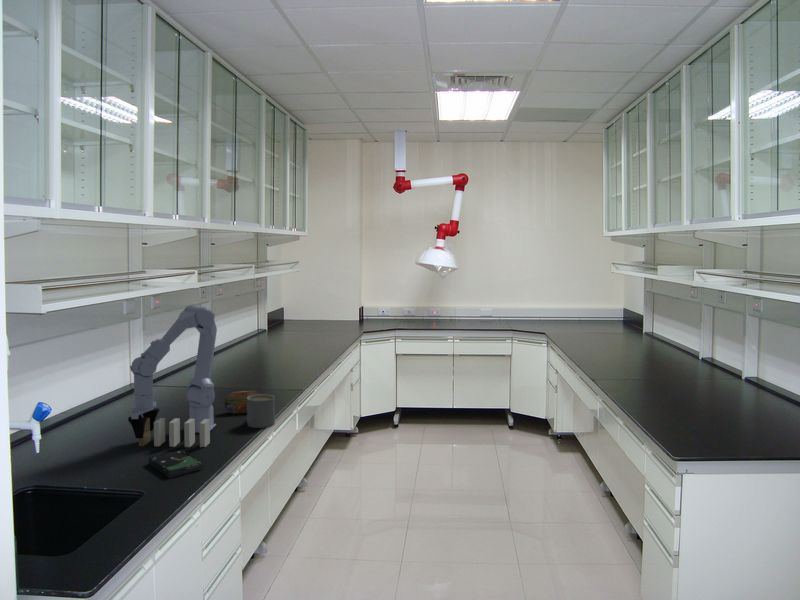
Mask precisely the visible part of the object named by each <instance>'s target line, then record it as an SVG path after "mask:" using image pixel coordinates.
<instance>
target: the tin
mask: <svg viewBox="0 0 800 600" xmlns="http://www.w3.org/2000/svg"><path fill="white" fill-rule="evenodd" d="M256 394H262V393H261V392H259V391H258V390H254V389H253V390H244V391H243V390H241V391H232V392H230V393H228V394H227V395H226V396H225V398H224V401H223V402H224V407H225V410H226V411H227V412H228V413H230V414H233V415H234V414H235V413H237V414H244V413H246V414H247V397H248V396H251V395H256Z"/></svg>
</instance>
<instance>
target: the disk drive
mask: <svg viewBox="0 0 800 600" xmlns="http://www.w3.org/2000/svg"><path fill="white" fill-rule="evenodd" d="M148 464H149V466H151V467H152V468H154V469H155V470H157V471H158V472H159V473H161V474H162V475H164V476H165V477H167V478H168V479H171V478H176V477H179V475H180V476H183V475H182V474H184V475H187V474H190V473H189V472H192V473H194V472H193V471H195V472H197V471H196V470H199V469H202V468H203V464H202V462H201V461H200V460H199V459H197V458H196V457H194V456H192V455H191V454H189V453H187V452H185V451H184V450H181V449H180V450H179V449H178V450H175V451H171V452H166V453H163V454H161V455H152V456H149V457H148ZM202 470H203V469H202ZM199 471H200V470H199ZM186 473H187V474H186Z"/></svg>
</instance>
